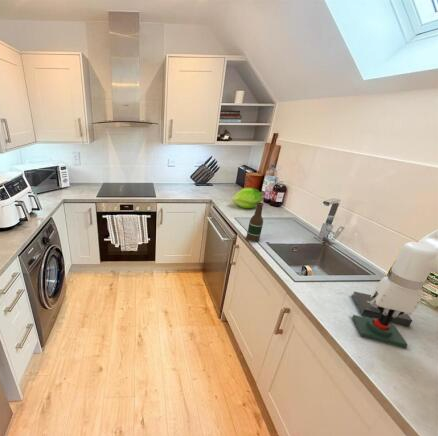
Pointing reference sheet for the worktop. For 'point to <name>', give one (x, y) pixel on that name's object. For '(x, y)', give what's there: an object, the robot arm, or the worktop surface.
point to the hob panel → (376, 309)
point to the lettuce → (247, 198)
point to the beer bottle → (255, 224)
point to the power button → (379, 325)
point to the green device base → (378, 331)
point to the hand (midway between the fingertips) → (382, 322)
